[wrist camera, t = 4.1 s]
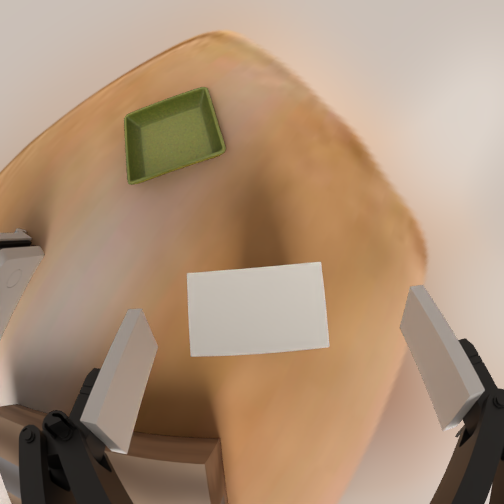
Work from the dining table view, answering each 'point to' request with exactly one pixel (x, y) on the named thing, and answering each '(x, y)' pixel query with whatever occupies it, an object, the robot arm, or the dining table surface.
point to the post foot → (133, 463)
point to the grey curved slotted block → (15, 270)
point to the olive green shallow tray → (171, 135)
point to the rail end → (257, 310)
